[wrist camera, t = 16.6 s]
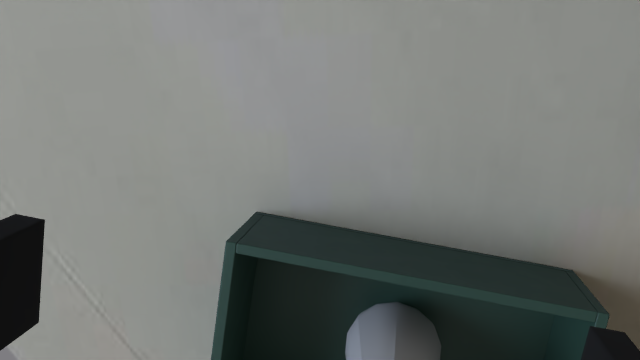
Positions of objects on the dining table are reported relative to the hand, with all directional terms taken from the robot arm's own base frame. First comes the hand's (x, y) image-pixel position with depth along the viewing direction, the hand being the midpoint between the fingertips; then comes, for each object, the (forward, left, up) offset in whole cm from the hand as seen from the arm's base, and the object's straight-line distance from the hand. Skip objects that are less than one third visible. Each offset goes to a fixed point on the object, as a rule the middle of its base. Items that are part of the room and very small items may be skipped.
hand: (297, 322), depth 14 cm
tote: (+4, -10, -25) cm, 27 cm away
